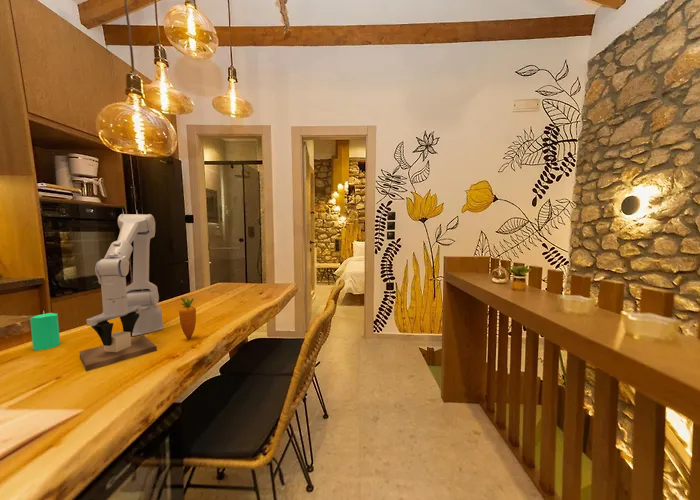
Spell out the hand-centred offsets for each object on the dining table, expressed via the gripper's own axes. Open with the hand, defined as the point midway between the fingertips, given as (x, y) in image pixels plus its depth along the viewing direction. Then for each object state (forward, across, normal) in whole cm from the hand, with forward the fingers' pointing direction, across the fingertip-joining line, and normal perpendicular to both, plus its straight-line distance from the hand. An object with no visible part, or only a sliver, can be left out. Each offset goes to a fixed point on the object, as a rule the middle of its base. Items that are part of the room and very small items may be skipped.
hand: (118, 340), depth 83 cm
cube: (+2, 0, 0) cm, 2 cm away
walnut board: (+4, 0, 0) cm, 4 cm away
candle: (+4, -1, -30) cm, 30 cm away
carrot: (+4, -13, +13) cm, 19 cm away
